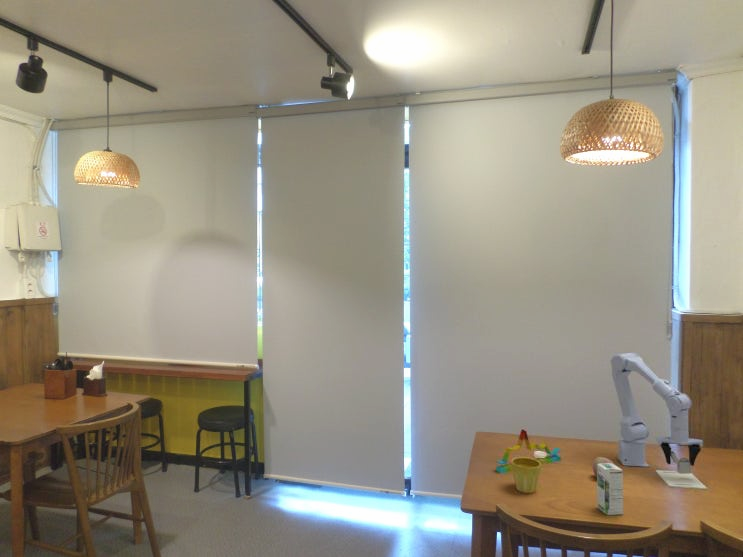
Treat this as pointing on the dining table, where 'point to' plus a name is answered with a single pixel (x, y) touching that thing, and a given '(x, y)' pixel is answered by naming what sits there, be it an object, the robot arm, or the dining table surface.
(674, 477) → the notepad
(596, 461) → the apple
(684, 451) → the dining table surface
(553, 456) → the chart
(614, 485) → the syrup box
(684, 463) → the lighter
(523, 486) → the plant pot
